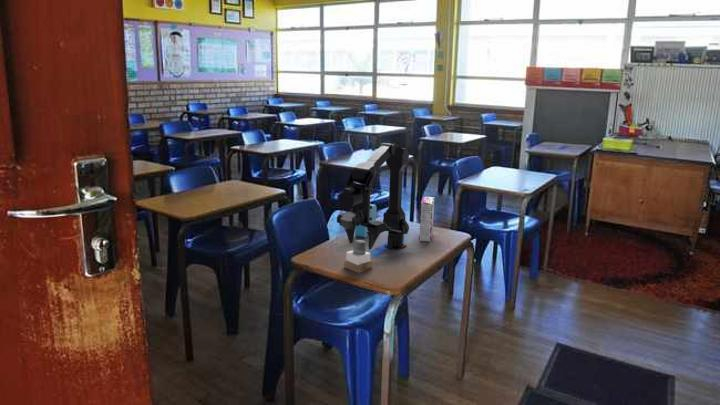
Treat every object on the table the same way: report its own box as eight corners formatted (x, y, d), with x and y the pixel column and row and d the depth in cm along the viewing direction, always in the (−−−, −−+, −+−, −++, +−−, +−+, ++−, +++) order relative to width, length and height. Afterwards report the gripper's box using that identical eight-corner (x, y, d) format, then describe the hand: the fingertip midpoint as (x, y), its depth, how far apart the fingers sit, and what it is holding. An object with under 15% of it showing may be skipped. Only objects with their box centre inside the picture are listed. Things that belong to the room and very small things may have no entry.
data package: (366, 229, 232) (367, 202, 229) (375, 230, 230) (376, 204, 227) (354, 237, 221) (355, 209, 218) (364, 238, 219) (365, 210, 216)
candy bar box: (420, 233, 229) (423, 196, 225) (432, 234, 228) (435, 197, 224) (418, 241, 218) (420, 202, 214) (430, 242, 217) (433, 203, 213)
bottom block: (357, 263, 193) (357, 255, 193) (372, 268, 189) (372, 260, 188) (344, 268, 188) (344, 260, 188) (358, 274, 184) (359, 265, 183)
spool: (358, 249, 190) (359, 239, 189) (368, 252, 187) (368, 242, 186) (350, 252, 187) (350, 241, 186) (359, 255, 184) (359, 244, 183)
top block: (358, 256, 192) (358, 248, 191) (370, 261, 188) (370, 253, 187) (346, 260, 188) (346, 252, 187) (357, 265, 184) (358, 257, 183)
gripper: (325, 201, 183) (325, 245, 187) (367, 213, 171) (365, 258, 175) (347, 196, 191) (346, 237, 195) (388, 206, 179) (386, 250, 183)
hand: (360, 246), depth 186 cm, fingers open, 9 cm apart
